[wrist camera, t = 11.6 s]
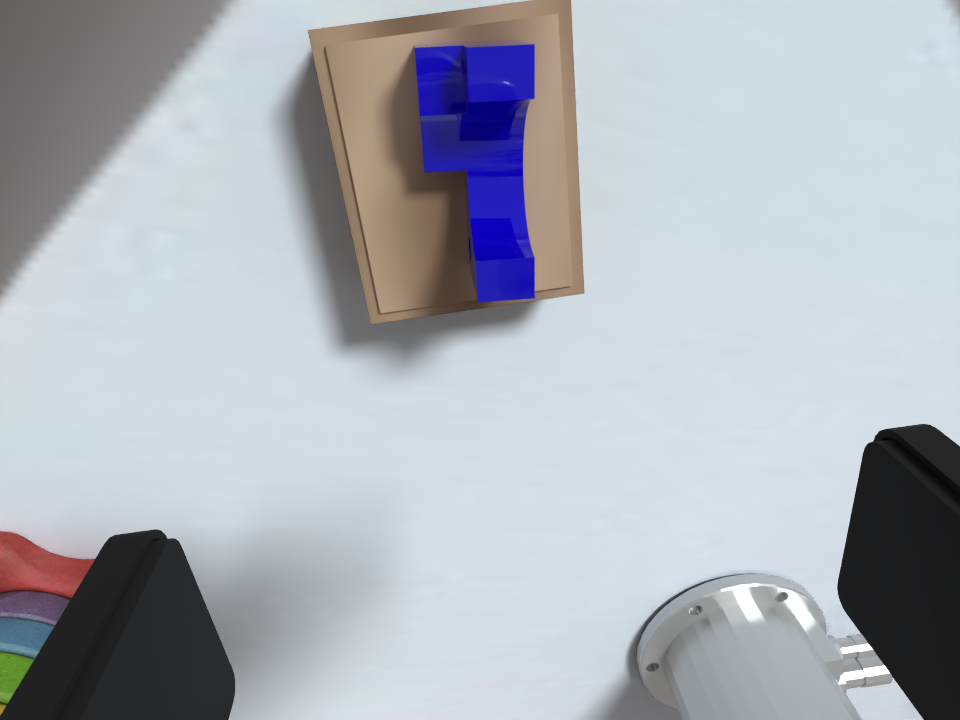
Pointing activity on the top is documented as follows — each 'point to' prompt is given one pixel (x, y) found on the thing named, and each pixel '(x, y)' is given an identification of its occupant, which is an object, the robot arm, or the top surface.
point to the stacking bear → (30, 603)
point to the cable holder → (483, 151)
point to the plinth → (441, 195)
